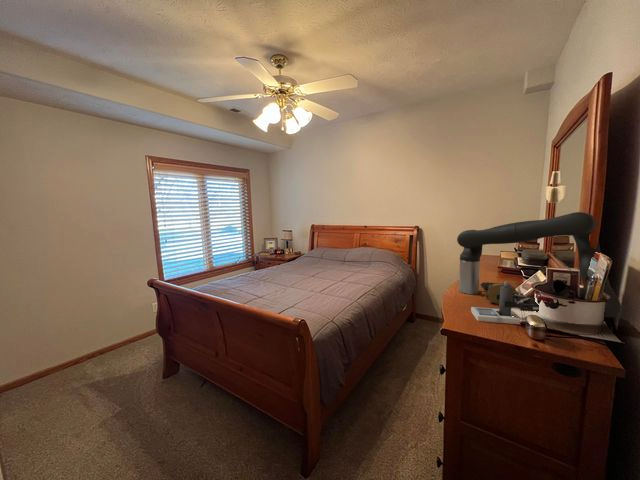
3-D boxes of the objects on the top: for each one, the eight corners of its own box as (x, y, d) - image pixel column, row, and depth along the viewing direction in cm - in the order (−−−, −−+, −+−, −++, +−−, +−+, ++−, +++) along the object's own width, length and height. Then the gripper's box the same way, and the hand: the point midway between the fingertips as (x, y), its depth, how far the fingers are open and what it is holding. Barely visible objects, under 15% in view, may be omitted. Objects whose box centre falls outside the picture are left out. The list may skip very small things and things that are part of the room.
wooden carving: (519, 303, 122) (520, 282, 121) (523, 306, 118) (525, 285, 117) (479, 300, 127) (480, 280, 126) (482, 304, 123) (483, 283, 121)
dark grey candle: (497, 315, 109) (499, 280, 107) (508, 316, 108) (510, 280, 106) (500, 319, 105) (502, 282, 104) (512, 320, 104) (514, 283, 102)
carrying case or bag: (486, 292, 139) (517, 294, 136) (486, 287, 139) (518, 288, 135) (479, 286, 149) (508, 288, 146) (479, 281, 149) (509, 282, 145)
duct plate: (471, 311, 115) (471, 305, 114) (511, 314, 110) (511, 308, 110) (477, 320, 105) (478, 314, 105) (522, 324, 101) (522, 318, 100)
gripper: (539, 288, 108) (494, 286, 113) (559, 300, 94) (507, 297, 99) (538, 305, 109) (493, 303, 114) (558, 320, 95) (506, 316, 100)
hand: (500, 300), depth 106 cm, fingers open, 8 cm apart
